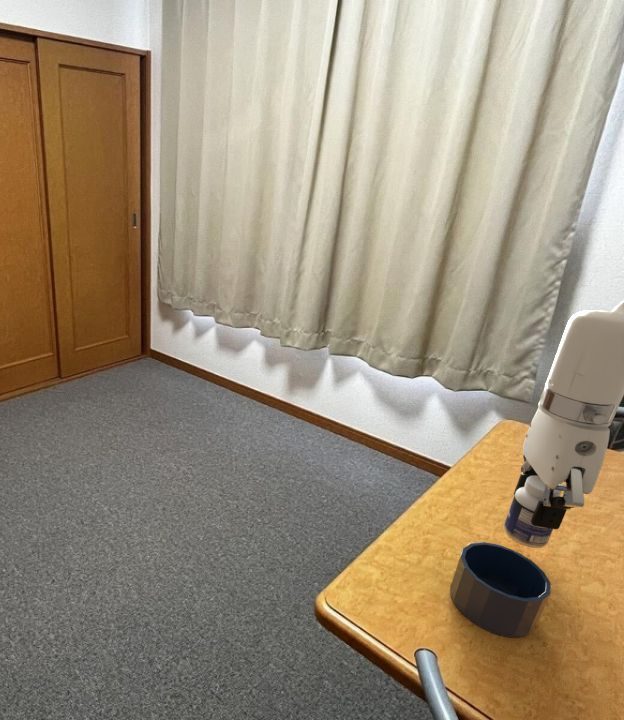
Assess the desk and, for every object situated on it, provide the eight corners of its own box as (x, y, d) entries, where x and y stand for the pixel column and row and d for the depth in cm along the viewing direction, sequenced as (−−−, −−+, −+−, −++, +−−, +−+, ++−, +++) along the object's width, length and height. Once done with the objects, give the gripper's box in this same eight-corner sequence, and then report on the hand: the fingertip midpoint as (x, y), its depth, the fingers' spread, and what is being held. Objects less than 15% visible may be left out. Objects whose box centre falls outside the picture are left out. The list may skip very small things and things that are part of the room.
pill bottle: (506, 518, 75) (525, 467, 72) (549, 535, 72) (571, 483, 68) (498, 536, 72) (517, 483, 68) (543, 555, 68) (565, 501, 65)
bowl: (517, 585, 66) (531, 550, 64) (548, 646, 58) (565, 609, 56) (441, 570, 69) (452, 536, 66) (461, 627, 61) (474, 590, 58)
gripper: (654, 443, 54) (597, 561, 61) (577, 380, 69) (538, 480, 76) (575, 433, 56) (529, 549, 64) (517, 374, 71) (485, 473, 79)
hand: (534, 510), depth 70 cm, fingers closed on pill bottle, 5 cm apart
